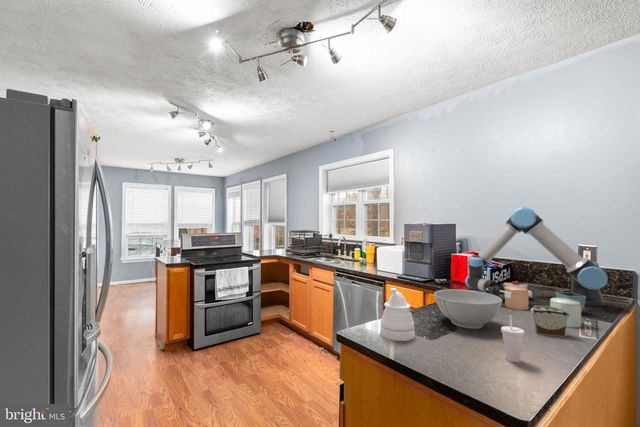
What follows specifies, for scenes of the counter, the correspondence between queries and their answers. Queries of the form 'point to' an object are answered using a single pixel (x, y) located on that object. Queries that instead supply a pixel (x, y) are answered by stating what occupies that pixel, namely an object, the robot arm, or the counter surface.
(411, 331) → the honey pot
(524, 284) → the food item
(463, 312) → the decorative bowl
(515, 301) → the octagonal lidded jar
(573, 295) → the flower pot
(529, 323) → the counter surface
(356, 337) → the counter surface
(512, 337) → the smoothie
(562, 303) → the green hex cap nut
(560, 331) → the food container
